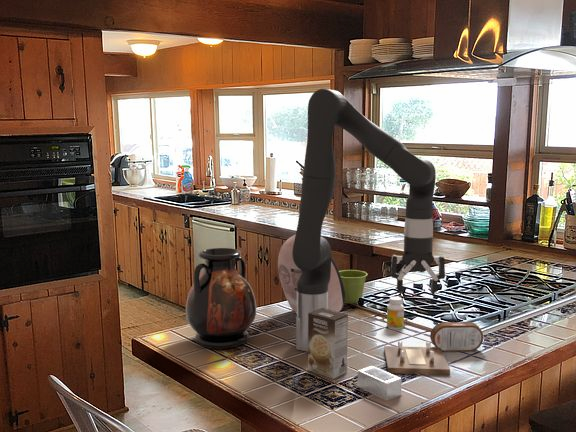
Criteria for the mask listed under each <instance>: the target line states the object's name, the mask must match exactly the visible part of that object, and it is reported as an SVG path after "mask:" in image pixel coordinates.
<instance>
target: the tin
mask: <svg viewBox="0 0 576 432" xmlns="http://www.w3.org/2000/svg"><path fill="white" fill-rule="evenodd" d="M429 337H430V338H429V339H430V343H431V344H432V345H433V346H434V347H438V348H441V350H442V352H445V353H446V352H451V353H452V352H453V353H455V352H460V353H461V352H474V351H476V350H478V349H479V348H481V345H482V344H483V342H484V334H483V331H482V329H481V328H480V326H479V325H477V324H476V323H475V322H471V321H456V322H455V321H444V322H443V321H441V322H440V323H437V324H436V325H434V326H433V327H432V329H431V331H430V335H429Z"/></svg>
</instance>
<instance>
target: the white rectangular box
mask: <svg viewBox="0 0 576 432" xmlns="http://www.w3.org/2000/svg"><path fill="white" fill-rule="evenodd" d="M357 387H358V388H359V389H362V390H364V392H365V391H366V393H367V392H368V393H370V394H372V395H374V396H376V397H378V398H380V399H382V400H384V401H387V402H388V401H389V400H393V399H395V398H397V397H400V396H402V378H401V377H399V376H397V375H395V374H394V373H388V371H385V370H383V369H381V368H378V367H376V366H374V365H370V366H366V367H364V368H361V369H358V370H357Z"/></svg>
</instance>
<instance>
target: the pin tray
mask: <svg viewBox="0 0 576 432" xmlns="http://www.w3.org/2000/svg"><path fill="white" fill-rule="evenodd" d="M431 344H432V342H431V341H426V343H425V346H403V341H402V340H401V341H400V340H399V341H397V346H395V345H393V346H391V345H388V346H387V345H384V347H383V349H384V350H383V351H384V352H383V353H384V358H385V362H386V363H385V364H386V368H387V372H388V373H390V374H403V375H404V374H405V375H406V374H407V375H408V374H409V375H411V374H412V375H437V376H438V375H441V376H451V368H450V366H449V364H448V362H447V360H446V359H447V358H446V356H445V355H444V353H443V352H444V351H442V350H441V348H438V347H435V346H434V347H433V346H431Z"/></svg>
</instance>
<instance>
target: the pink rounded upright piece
mask: <svg viewBox="0 0 576 432" xmlns="http://www.w3.org/2000/svg"><path fill="white" fill-rule="evenodd" d="M295 235H296V233H295V234H294V235H292V236H290V237H288V238H287V240H286V241H284V243H283V244H282V245H281V247H280V250H279V254H278V260H277V269H278V275H279V280H280V284H281V287H282V289H283V290H282V291H283V293H284V296H285V299H286V300H287V303H288V305H289V307H290V308H291V309H292V311H293V312H294V313H295V314H297V281H298V280H299V278H300V276H301V273H302V270H300V269H299V268H298V267H297V266H296V265H295V263H294V261H293V256H292V250H293V245H294V240H295ZM339 271H340V270H339V268H338V265H337V263H336V261H335V259H334V257H333V256H332V255H331V277H330V282H329V284H328V309H329V310H333V311H336V312H340V311H342V309H343V308H344V306H345V298H346V294H345V288H344V284H343V281H342V278H341V276H340V273H339Z"/></svg>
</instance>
